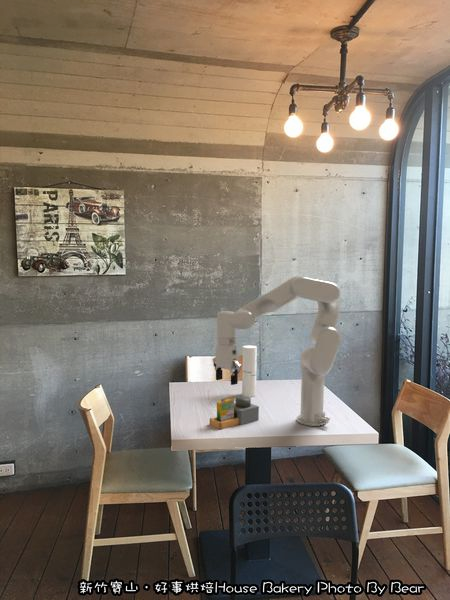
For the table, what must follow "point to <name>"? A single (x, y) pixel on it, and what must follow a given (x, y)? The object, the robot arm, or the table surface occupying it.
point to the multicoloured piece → (239, 414)
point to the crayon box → (225, 409)
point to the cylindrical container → (249, 371)
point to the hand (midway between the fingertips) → (226, 381)
